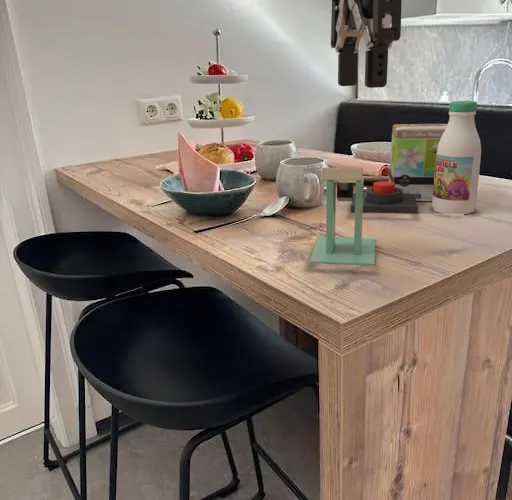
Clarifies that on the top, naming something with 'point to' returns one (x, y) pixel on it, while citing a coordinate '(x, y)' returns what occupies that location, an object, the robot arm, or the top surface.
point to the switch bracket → (344, 247)
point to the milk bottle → (458, 162)
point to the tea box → (415, 158)
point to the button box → (387, 202)
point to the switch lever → (343, 180)
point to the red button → (384, 187)
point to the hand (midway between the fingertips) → (360, 86)
